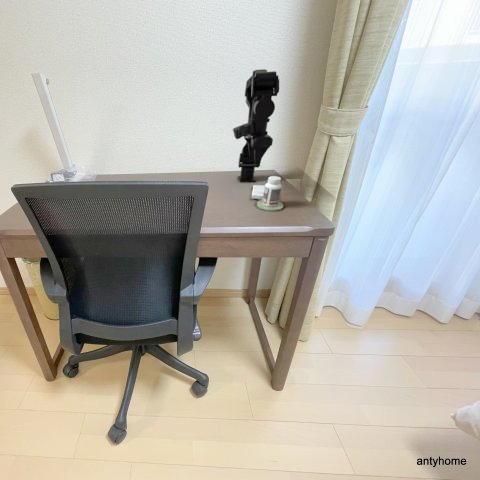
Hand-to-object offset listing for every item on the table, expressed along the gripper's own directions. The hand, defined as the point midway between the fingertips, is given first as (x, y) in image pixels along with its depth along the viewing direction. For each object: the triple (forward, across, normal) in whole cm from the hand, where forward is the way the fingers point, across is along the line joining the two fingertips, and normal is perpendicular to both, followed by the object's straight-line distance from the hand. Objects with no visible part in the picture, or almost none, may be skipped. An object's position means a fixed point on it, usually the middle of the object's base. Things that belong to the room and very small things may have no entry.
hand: (253, 160), depth 97 cm
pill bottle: (+13, +12, +5) cm, 18 cm away
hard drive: (+13, +2, +5) cm, 14 cm away
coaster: (+13, +12, +5) cm, 18 cm away
